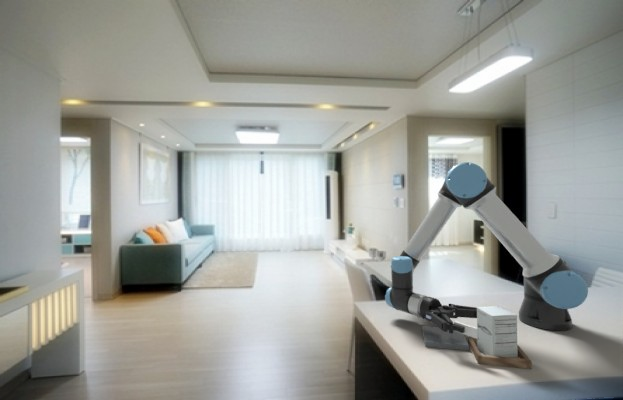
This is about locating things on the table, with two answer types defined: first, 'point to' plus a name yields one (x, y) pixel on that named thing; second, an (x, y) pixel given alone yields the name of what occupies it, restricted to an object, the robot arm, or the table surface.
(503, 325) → the supplement box
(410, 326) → the table surface
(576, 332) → the table surface
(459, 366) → the table surface
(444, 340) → the slate trivet
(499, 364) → the walnut holder
